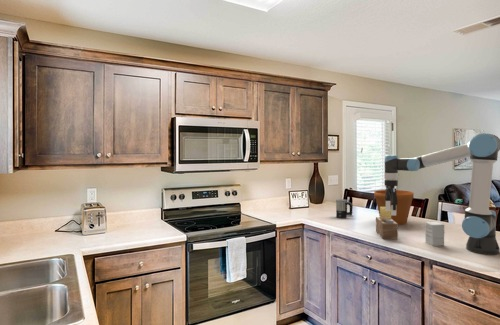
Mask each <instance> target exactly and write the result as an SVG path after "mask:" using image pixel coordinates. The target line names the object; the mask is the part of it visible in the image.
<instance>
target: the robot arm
mask: <svg viewBox="0 0 500 325" xmlns="http://www.w3.org/2000/svg"><path fill="white" fill-rule="evenodd" d="M499 152H500V138H499V137H498V136H497V135H495V134H491V133H479V134H476V135H474V136H473V137H472V138H470V140H469V141H468V142H467V143H465V144H460V145H457V146H453V147H449V148H446V149H441V150H439V151H435V152H432V153H431V152H430V153H427V154H423V155H419V156H416V157H409V158H408V157H404V158H403V157H401V158H400V157H399V155H398V154H386V155H385V156H384V186H385V190H386V193H385V200H386V211H390V201H391V202H392V203H391V215H394V216H396V205H397V204H398V202H397V194H396V190H397V188H395V187H398V185H399V184H398V183H399V182H398V179H399V178H398V177H399V174H398V172H399V171H404V172H406V171H407V172H418V171H419V170H421V169H424V168H427V167H431V166H437V165H441V164H446V163H450V162H453V161H458V160H462V159H467V158H469V160H470V162H472V170H471V177H470V178H471V179H470V190H469V191H470V192H469V202H468V207H467V208H465V211H464V218H463V220H462V223H461V228H462V230H463V232H464V234H466V235H467V236H468V239H467V241H466V244H465V246H466V247H465V248H466V249H465V250H468V251H469V252H473V253H477V254H482V255H497V254H500V246H499V243H498V240H497V236H496V235H497V234H496V233H497V232H496V231H497V228H496V226H497V212H496V211H495V210H492V209H490V203H491V202H490V201H491V193H492V192H491V190H492V179H493V169H494V164H495V163H496V162H497V161H498V158H499V157H498V156H499ZM390 198H391V199H390Z"/></svg>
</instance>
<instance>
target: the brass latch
mask: <svg viewBox="0 0 500 325" xmlns="http://www.w3.org/2000/svg"><path fill="white" fill-rule="evenodd" d="M379 217H380V219H384V218H390V219H391V207H390V211H386V207H380V216H379Z"/></svg>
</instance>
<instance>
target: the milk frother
mask: <svg viewBox="0 0 500 325" xmlns="http://www.w3.org/2000/svg"><path fill="white" fill-rule="evenodd" d="M348 206H349V211H348ZM353 206H354V205H353V204H352V202H349V201H347V199H335V207H336V213H335V214H336V216H335V217H336V218H337V219H346V218H348V216H352V215H353V209H354V208H353Z"/></svg>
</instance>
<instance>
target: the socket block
mask: <svg viewBox="0 0 500 325" xmlns="http://www.w3.org/2000/svg"><path fill="white" fill-rule="evenodd" d="M391 220H392V219H391ZM398 226H399V225H398V224H397V223H396V222H395V221H394V220H393V223H385V221H384V219H380V216H375V232H376V233H377V234H378V235H379V236H380V237H381V239H383V240H398V239H399V237H398V235H399V234H398V231H399V230H398Z"/></svg>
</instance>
